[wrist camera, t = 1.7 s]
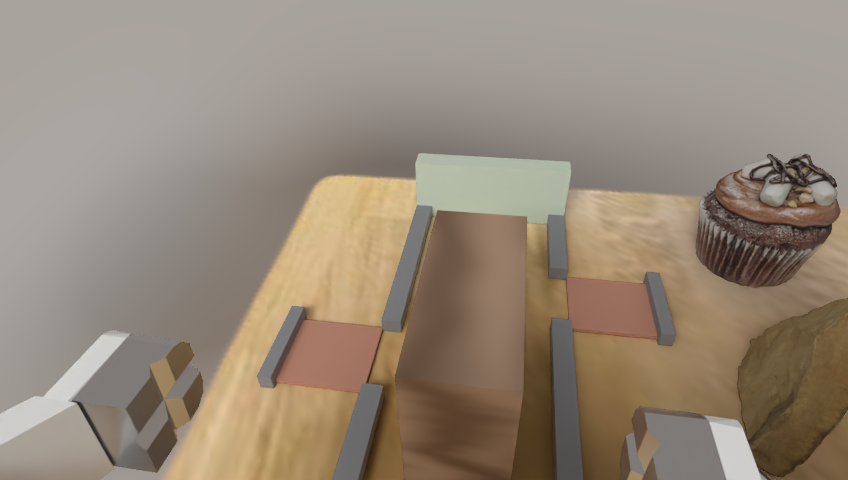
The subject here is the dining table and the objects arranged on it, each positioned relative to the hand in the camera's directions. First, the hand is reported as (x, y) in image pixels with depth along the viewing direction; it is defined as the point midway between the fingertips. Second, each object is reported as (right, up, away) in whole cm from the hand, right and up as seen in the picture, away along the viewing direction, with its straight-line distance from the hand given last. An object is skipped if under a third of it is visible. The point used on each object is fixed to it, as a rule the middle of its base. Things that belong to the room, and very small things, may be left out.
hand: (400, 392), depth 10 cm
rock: (+24, -9, +26) cm, 36 cm away
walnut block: (+3, -8, +27) cm, 29 cm away
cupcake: (+29, +1, +38) cm, 48 cm away
